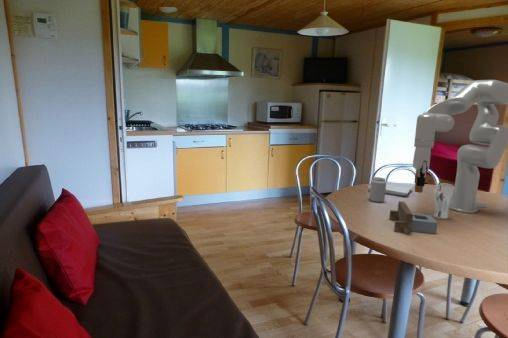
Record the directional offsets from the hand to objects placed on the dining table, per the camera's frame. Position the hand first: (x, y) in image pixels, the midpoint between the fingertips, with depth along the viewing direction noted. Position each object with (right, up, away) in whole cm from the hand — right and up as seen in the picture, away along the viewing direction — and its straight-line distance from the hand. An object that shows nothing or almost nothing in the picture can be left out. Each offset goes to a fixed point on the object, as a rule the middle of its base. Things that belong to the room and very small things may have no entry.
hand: (419, 184), depth 152 cm
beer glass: (+11, -15, +4) cm, 19 cm away
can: (-10, -10, +26) cm, 29 cm away
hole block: (-5, -17, -11) cm, 21 cm away
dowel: (0, -3, +1) cm, 3 cm away
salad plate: (+6, -6, +48) cm, 48 cm away
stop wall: (-13, -17, -10) cm, 23 cm away
